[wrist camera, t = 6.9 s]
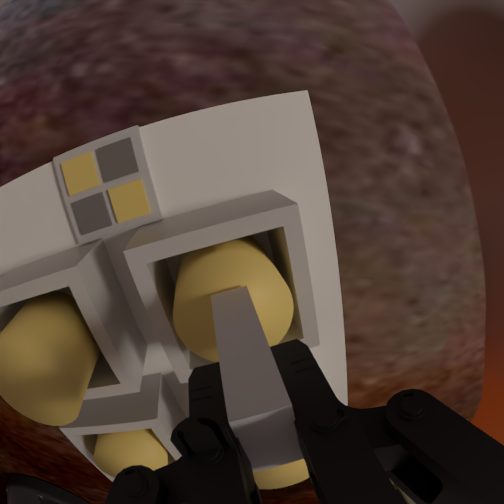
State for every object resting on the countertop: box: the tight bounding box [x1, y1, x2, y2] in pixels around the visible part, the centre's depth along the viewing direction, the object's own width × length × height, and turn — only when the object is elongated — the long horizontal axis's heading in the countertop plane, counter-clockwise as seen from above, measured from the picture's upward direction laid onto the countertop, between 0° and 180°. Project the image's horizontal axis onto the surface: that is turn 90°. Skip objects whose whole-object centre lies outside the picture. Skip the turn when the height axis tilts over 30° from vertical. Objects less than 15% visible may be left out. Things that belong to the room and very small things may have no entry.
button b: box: [0, 290, 101, 426], centre depth 12 cm, size 5×5×5 cm
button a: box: [94, 428, 168, 478], centre depth 18 cm, size 5×5×5 cm
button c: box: [252, 459, 309, 489], centre depth 17 cm, size 5×5×5 cm
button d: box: [173, 235, 294, 362], centre depth 15 cm, size 5×5×5 cm
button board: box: [0, 90, 348, 482], centre depth 17 cm, size 24×28×5 cm
